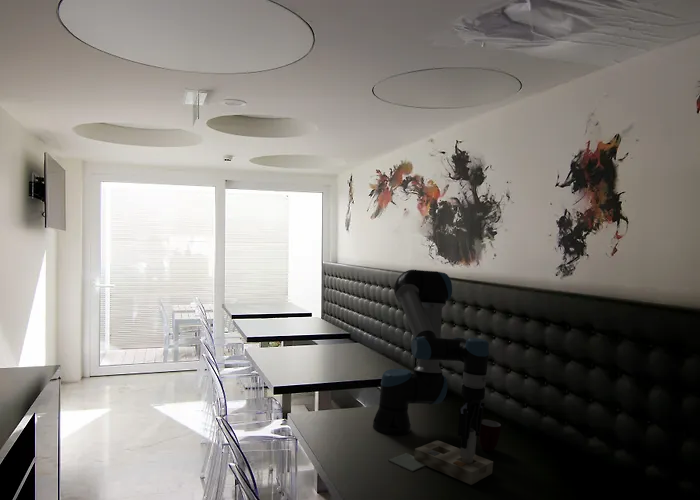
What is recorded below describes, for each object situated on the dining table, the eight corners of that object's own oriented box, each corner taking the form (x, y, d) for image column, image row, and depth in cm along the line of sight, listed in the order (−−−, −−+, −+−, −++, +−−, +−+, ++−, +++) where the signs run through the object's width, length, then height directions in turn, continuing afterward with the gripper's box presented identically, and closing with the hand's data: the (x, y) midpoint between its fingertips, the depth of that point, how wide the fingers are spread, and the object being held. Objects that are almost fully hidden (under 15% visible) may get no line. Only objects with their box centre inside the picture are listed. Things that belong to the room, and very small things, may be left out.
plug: (458, 472, 166) (462, 428, 166) (464, 469, 169) (468, 426, 169) (468, 476, 163) (472, 431, 164) (473, 473, 166) (477, 429, 166)
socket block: (414, 460, 172) (415, 448, 172) (436, 451, 182) (437, 439, 182) (471, 485, 157) (472, 471, 157) (492, 473, 167) (493, 460, 167)
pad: (388, 460, 170) (388, 459, 170) (405, 454, 177) (405, 452, 177) (412, 471, 163) (412, 470, 163) (429, 464, 170) (429, 462, 170)
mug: (498, 458, 181) (501, 430, 181) (476, 453, 183) (478, 426, 183) (498, 447, 191) (500, 421, 191) (476, 443, 193) (479, 418, 193)
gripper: (471, 392, 158) (464, 466, 157) (495, 385, 170) (489, 454, 170) (450, 386, 163) (444, 457, 163) (475, 379, 175) (469, 446, 175)
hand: (467, 455), depth 166 cm, fingers closed on plug, 3 cm apart
